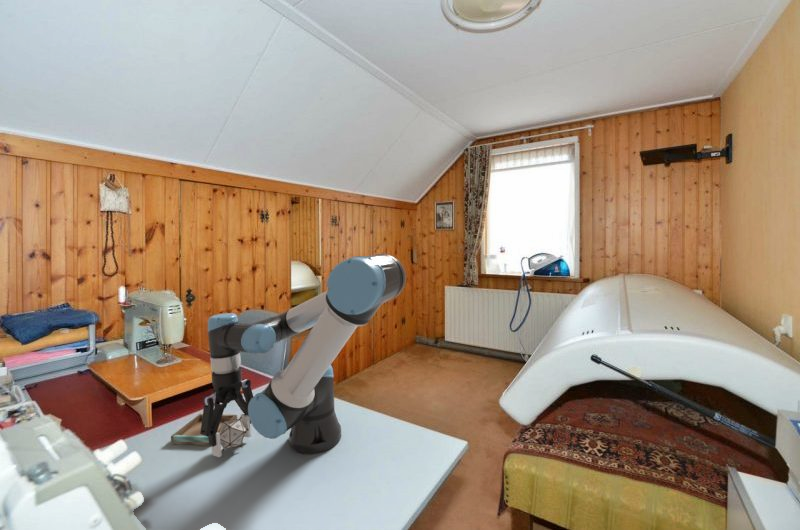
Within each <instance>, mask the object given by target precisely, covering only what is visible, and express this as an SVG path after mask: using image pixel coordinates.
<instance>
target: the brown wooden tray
mask: <svg viewBox="0 0 800 530" xmlns="http://www.w3.org/2000/svg"><path fill="white" fill-rule="evenodd" d="M202 417H203V413H199V414H198V415H196V416H195V417H194V418H193V419H191V420H190V421H188V423H186V424H185V425H183V426H182V427H181V428H179V429H178V430H177V431H175V433H173V434H172V435H171V436H170V442H171V445H187V446H189V445H191V446H210V445H209V439H208V437H207V436H204V435H201V434H200V432H201V424H202ZM236 419H238V414H222V417H221V421H222V420H223V421H224V422H226V421H231V420H236ZM221 421H220V424H219V427H218V430H217V432H218V433H219V431H220V428H221V426H222V424H223V422H221Z"/></svg>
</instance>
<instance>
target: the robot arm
mask: <svg viewBox="0 0 800 530" xmlns="http://www.w3.org/2000/svg"><path fill="white" fill-rule="evenodd" d="M406 283H407V274H406V271H405V267H404V266H403V264H402V263H401V261H400V260H399V259H398V258H396V257H395V256H393V255H390V254H386V253H379V254H373V255H359V256H357V255H356V256H353V257H350V258H347V259H345V260H342V261H340V262H339V263H337V265H335V266H334V267H333V268H332V270H331V271H330V273H329V274H328V277H327V281H326V287H327V290H326V291H324V292H321V293H319V294H318V295H316V296H314V297H312V298H310V299H308V300H305V301H304V302H302V303H300V304H298V305H296V306H294V307H292V308H290V309H288V310H285V311H284V312H281V313H280V314H276V315H274V316H271V317H267V318H265V319H260V320H258V321H255V322H251V323H244V322H239V318H238V315H237V314H236V313H232V312H229V313H228V312H227V313H226V312H225V313H220V314H219V313H218V314H214V315H212V316H210V317H208V319H207V332H206V333H207V338H208V346H209V347H208V348H209V358H210V359H209V360H210V370H211V371H212V372H211V383H212V386H213V390H212V391H213V392H212V393H211V395H208V396H204V397H203V398H202V402H203V409H202V414H203V417H202V424H201V432H200V434H201V435H204V436H207V437H208V439H209V445H208V446H210V447H211V456H215V457H217V458H220V457H222V445H221V443H220V433H218V432H217V430H218V427H219V424H220V421H221V417H222V414H223V413H224V411H225V409H226V408H227V406H228V404H229V403H231V402H233V401H234V402H235V403H236V405H237V406H238V407H239V409H240V410H241V412H242V414H240V417H241V416H242V418H241V419H240V420H241V421H242V423H243V425H244V427H245V428H246V429H249V430H248V431H247V432H246V433H245V436H244V438H247V439H248V438H251V437H252V434H251V433H252V432H251V425H252V426H253V428H254V429H255V431H256V432H257V433H258V434H259V435H261V436H262V437H263V438H266V439H271V440H274V439H277V438H279V437H281V436H282V435H285V434H286V433H287V432H288V431H289V430H290V431H289V435H288V438H289V439H288V440H289V441H288V442H289V446H290V449H292V450H293V451H294V452H297V453H300V454H306V455H307V454H309V455H311V454H318V453H322V452H325V451H328V450H330V449H332V448H333V447H335V446H336V445H338V444H339V442H340V440H341V439H342V427H341V424H340V423H339V420H338V417H337V414H336V411H335V388H334V386H335V385H334V383H335V382H334V381H335V380H334V378H335V376H334V369H333V366H332V364H333V362H334V360H335V359H336V358H337V356H338V355H339V353H340V352H341V350H342V349H343V348H344V347H345V345H346V344H347V342H348V341H349V340H350V338H351V337H352V335H353V334H354V332H355V331H356V330H357V328H358V327H363V326H366V325H367V324H369V323H370V321H371V319H373V317H374V316H375V314H376V313H377V311H378V310H379V309H380V307H381V306H382V305H383V304H384V303H387V302H390V301H392V300H393V299H395V298H396V297H398V296H399V295H400V294H401V293H402V292H403V290H404V288H405V285H406ZM308 329H311V330H310V331H309V333H308V334H307V336H306V337H305V338H304V341H303V342H302V343H301V344H300V346H299V348H298V349H297V350H296V353H295V354H294V355H293V358H292V359H291V360H290V362H289V363H288V365H287V367H285V369H282V370H279V371H278V372H276V373H275V375H274V376H273V377H272V378H271V380H270V381H269V383H268V385H267V386H266V388H264V390H262V391H261V392H258V393H256V394H255V395H254V394H253V390H252V388H251V387H252V386H251V379H247V378H246V379H245V378H243V376H242V374H243V372H242V367H241V366H242V359H241V352H243V353H248V354H253V355H257V354H260V355H261V354H266V353H269V352H270V351H271V349H272V348H273V347H274V345H276V344H278V343H280V342H281V341H285V340H287V339H290V338H293V337H294V336H295V337H296V336H297V335H299V334H300V333H303V332H304V331H307V330H308ZM241 391H242V393H241ZM223 415H224V414H223Z"/></svg>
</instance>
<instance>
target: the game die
mask: <svg viewBox="0 0 800 530" xmlns="http://www.w3.org/2000/svg"><path fill="white" fill-rule="evenodd" d="M241 418H242V416H241V415H240V417H239V418H237V419H236V420H231V421H226V422H224V421H223V420H222V421H221V422H223V424H222V426H221V428H220V431H219V433H220V443H221V453H223V452H225V449H230V448H235V447H240V448H241V449H242V448H243V445H242V443H243V440H244V438H245V437H244V436H245V433H246V432H247V431H248V430H249V429H246V428H245V427H244V425H243V423H242V421H241Z"/></svg>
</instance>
